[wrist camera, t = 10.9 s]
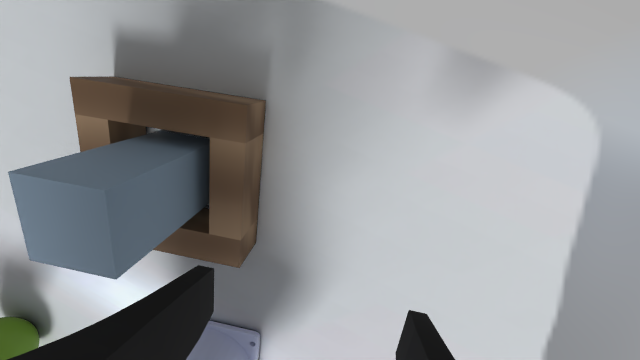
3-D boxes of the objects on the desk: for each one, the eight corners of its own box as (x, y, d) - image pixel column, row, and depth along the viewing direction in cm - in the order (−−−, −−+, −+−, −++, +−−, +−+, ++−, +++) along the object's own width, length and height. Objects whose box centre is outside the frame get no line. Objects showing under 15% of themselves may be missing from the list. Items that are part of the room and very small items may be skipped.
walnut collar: (255, 242, 22) (239, 267, 19) (127, 216, 22) (93, 236, 20) (265, 100, 18) (247, 105, 15) (113, 76, 19) (69, 77, 16)
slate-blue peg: (217, 196, 21) (116, 279, 12) (163, 186, 21) (29, 260, 13) (218, 140, 19) (104, 190, 11) (160, 130, 20) (8, 172, 11)
